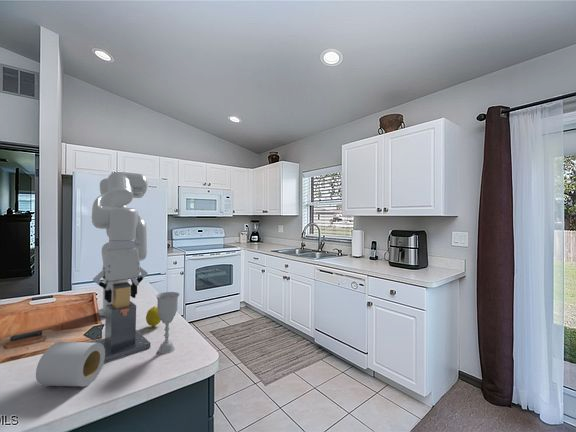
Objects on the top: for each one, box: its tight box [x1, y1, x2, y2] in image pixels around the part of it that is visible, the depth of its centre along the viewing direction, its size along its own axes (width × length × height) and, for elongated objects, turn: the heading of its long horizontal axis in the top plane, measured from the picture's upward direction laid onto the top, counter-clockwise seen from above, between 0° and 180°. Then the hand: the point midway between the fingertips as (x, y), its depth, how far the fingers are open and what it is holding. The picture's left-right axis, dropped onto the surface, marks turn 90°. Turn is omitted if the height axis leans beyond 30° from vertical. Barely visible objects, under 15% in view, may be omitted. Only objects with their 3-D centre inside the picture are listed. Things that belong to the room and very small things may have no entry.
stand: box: [89, 300, 151, 364], centre depth 88 cm, size 14×14×14 cm
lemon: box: [145, 305, 162, 328], centre depth 105 cm, size 6×6×8 cm
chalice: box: [155, 291, 180, 354], centre depth 88 cm, size 7×7×18 cm
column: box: [112, 282, 131, 309], centre depth 88 cm, size 4×4×19 cm
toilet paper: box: [35, 341, 105, 387], centre depth 70 cm, size 10×10×10 cm
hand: (121, 298), depth 88 cm, fingers open, 6 cm apart
